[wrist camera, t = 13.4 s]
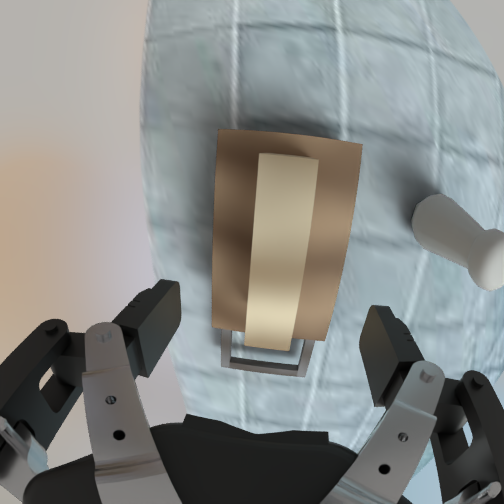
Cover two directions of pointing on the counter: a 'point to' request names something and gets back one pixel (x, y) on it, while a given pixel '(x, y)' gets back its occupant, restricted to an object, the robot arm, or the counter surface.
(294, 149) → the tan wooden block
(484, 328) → the counter surface
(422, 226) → the salt shaker
